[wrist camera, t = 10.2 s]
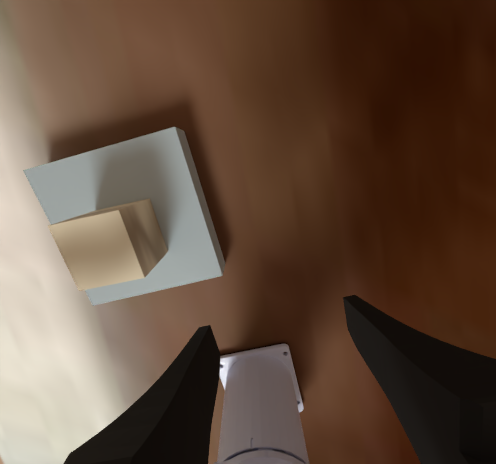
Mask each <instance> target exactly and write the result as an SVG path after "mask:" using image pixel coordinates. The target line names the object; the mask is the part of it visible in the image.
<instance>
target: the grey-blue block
mask: <svg viewBox="0 0 496 464" xmlns="http://www.w3.org/2000/svg"><path fill="white" fill-rule="evenodd" d="M23 171H24V173H25V175H26V177H27V179H28V181H29V183H30V185H31V187H32V189H33V191H34V193H35V194H36V196H37V198H38V200H39V202H40V204H41V206H42V208H43V210H44V212H45V214H46V216H47V218H48V220H49V222H50V224H51V225H52V224H55V223H58V222H61V221H64V220H67V219H70V218H73V217H76V216H80V215H83V214H86V213H89V212H92V211H95V210H100V209H104V208H108V207H113V206H117V205H122V204H126V203H131V202H135V201H140V200H144V199H149V198H150V200H151V203H152V206H153V209H154V212H155V215H156V218H157V221H158V224H159V227H160V230H161V233H162V235H163V238H164V241H165V244H166V247H167V250H168V252H167V253H166V255H165V256H164V257H163V258H162V259H161V260H160V261H159V262H158V264H157V265H156V266H155V267H154V268H153V269H152V270H151V271H150V273H149V274H148V275H147V276H146V277H145V278H142V279H137V280H132V281H127V282H122V283H117V284H112V285H107V286H102V287H97V288H92V289H87V290H85V292H86V293H87V295H88V297H89V299H90V301H91V303H92V305H93V306H94V305H98V304H102V303H107V302H111V301H115V300H120V299H124V298H128V297H133V296H137V295H141V294H146V293H150V292H154V291H159V290H163V289H167V288H172V287H176V286H180V285H185V284H189V283H193V282H198V281H202V280H206V279H211V278H215V277H219V276H223V272H224V267H225V261H224V258H223V254H222V251H221V248H220V245H219V242H218V238H217V235H216V232H215V229H214V225H213V222H212V219H211V216H210V213H209V209H208V206H207V203H206V200H205V196H204V193H203V190H202V187H201V184H200V180H199V177H198V174H197V171H196V167H195V164H194V161H193V158H192V155H191V151H190V148H189V145H188V142H187V138H186V135H185V132H184V131H183V130H181V129H179V128H177V127H172V128H169V129H165V130H162V131H158V132H155V133H151V134H148V135H144V136H141V137H137V138H134V139H130V140H127V141H123V142H120V143H117V144H113V145H110V146H106V147H103V148H99V149H96V150H92V151H89V152H85V153H82V154H78V155H75V156H71V157H68V158H64V159H61V160H58V161H54V162H51V163H47V164H44V165H40V166H37V167H33V168H30V169H26V170H23Z"/></svg>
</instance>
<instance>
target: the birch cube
mask: <svg viewBox="0 0 496 464" xmlns="http://www.w3.org/2000/svg"><path fill="white" fill-rule="evenodd" d="M48 228H49V230H50V232H51V234H52V236H53V238H54V240H55V242H56V244H57V246H58V248H59V251H60V253H61V255H62V257H63V259H64V261H65V263H66V265H67V267H68V269H69V271H70V273H71V275H72V277H73V280H74V282H75V284H76V286H77V288H78V290H79V291H82V290H87V289H92V288H97V287H102V286H107V285H112V284H117V283H122V282H127V281H132V280H137V279H142V278H145V277H146V276H147V275H148V274H149V273H150V271H151V270H152V269H153V268H154V267H155V266H156V265H157V264H158V262H159V261H160V260H161V259H162V258H163V257H164V256H165V255H166V253H167V252H168V250H167V247H166V244H165V241H164V238H163V235H162V233H161V230H160V227H159V224H158V221H157V218H156V215H155V212H154V209H153V206H152V203H151V200H150V198H149V199H144V200H140V201H135V202H131V203H126V204H122V205H117V206H113V207H108V208H104V209H100V210H95V211H92V212H89V213H86V214H83V215H80V216H76V217H73V218H70V219H67V220H64V221H61V222H58V223H55V224H52V225H49V226H48Z"/></svg>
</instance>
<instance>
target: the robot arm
mask: <svg viewBox="0 0 496 464" xmlns="http://www.w3.org/2000/svg"><path fill="white" fill-rule="evenodd" d="M343 300H344V307H345V313H346V320H347V326H348V331H349V333H350V335H351V337H352V339H353V341H354V343H355V345H356V347H357V349H358V351H359V353H360V354H361V356H362V357H363V359H364V361H365V362H366V364H367V365H368V367H369V369H370V370H371V372H372V373H373V375H374V376H375V378H376V380H377V381H378V383H379V384H380V386H381V388H382V389H383V391H384V392H385V394H386V396H387V398H388V399H389V401H390V403H391V405H392V407H393V409H394V411H395V413H396V414H397V416H398V418H399V420H400V422H401V424H402V426H403V428H404V430H405V432H406V434H407V436H408V438H409V440H410V442H411V444H412V446H413V448H414V450H415V452H416V454H417V456H418V458H419V460H420V462H421V464H496V359H493V358H490V357H487V356H483V355H480V354H477V353H474V352H471V351H468V350H465V349H462V348H459V347H456V346H454V345H451V344H448V343H445V342H443V341H440V340H438V339H435V338H433V337H431V336H428V335H426V334H424V333H422V332H419V331H417V330H415V329H413V328H411V327H409V326H407V325H405V324H403V323H401V322H399V321H397V320H396V319H394V318H392V317H390V316H388V315H387V314H385V313H383V312H382V311H380V310H378V309H377V308H375V307H373V306H372V305H370V304H369V303H367V302H365V301H364V300H362V299H361V298H359V297H358V296H356V295H352V296H347V297H343ZM284 352H286V353H284ZM220 364H222V365H220ZM219 376H220V378H221V381H222V384H223V387H224V389H225V396H224V405H223V414H222V423H221V433H220V442H219V451H218V460H217V462H215V463H214V464H309V461H308V455H307V450H306V445H305V440H304V435H303V430H302V425H301V420H300V415H299V412H301V411H303V409H304V407H303V403H302V399H301V395H300V391H299V387H298V382H297V378H296V374H295V370H294V366H293V362H292V358H291V354H290V350H289V346H288V345H287V344H279V345H274V346H268V347H263V348H258V349H253V350H248V351H243V352H238V353H233V354H228V355H223V356H220V352H219V349H218V346H217V344H216V341H215V338H214V335H213V332H212V329H211V326H210V325H208V326H203V327H199V328H198V330H197V331H196V332H195V334H194V335H193V336H192V338H191V339H190V340H189V342H188V343H187V345H186V346H185V347H184V349H183V350H182V351H181V352H180V354H179V355H178V356H177V358H176V359H175V360H174V361H173V363H172V364H171V365H170V366H169V367H168V369H167V370H166V371H165V372H164V373H163V375H162V376H161V377H160V378H159V379H158V380H157V381H156V382H155V383H154V384H153V385H152V386H151V387H150V388H149V390H148V391H147V392H146V393H145V394H144V395H142V396H141V397H140V398H139V399H138V400H137V401H136V402H135V403H134V404H133V405H132V406H131V407H129V408H128V409H127V410H126V411H125V412H124V413H123V414H121V415H120V416H119V417H118V418H117V419H116V420H114V421H113V422H112V423H111V424H109V425H108V426H107V427H106V428H104V429H103V430H102V431H100V432H99V433H98V434H96V435H95V436H94V437H92V438H91V439H90V440H88V441H87V442H85V443H84V444H83V445H81V446H80V447H78V448H77V449H76V450H74V451H73V452H71V453H70V454H69V456H68V457H67V459H66V461H65V462H64V464H208V456H209V443H210V431H211V424H212V417H213V411H214V406H215V400H216V394H217V388H218V382H219Z"/></svg>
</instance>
